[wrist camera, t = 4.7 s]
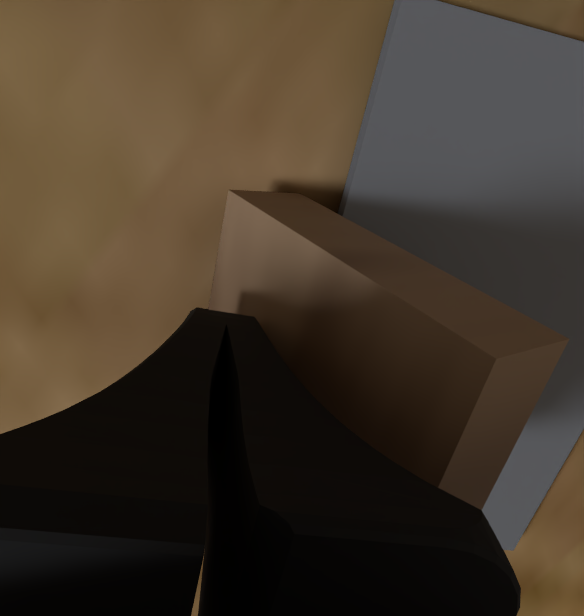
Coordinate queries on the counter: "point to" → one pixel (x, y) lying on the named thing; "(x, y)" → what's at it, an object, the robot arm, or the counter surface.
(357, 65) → the counter surface
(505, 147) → the mat
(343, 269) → the slab
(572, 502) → the counter surface
